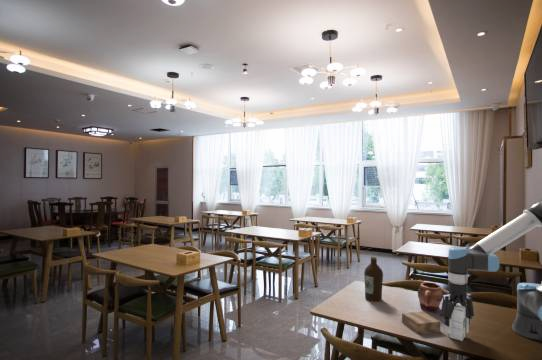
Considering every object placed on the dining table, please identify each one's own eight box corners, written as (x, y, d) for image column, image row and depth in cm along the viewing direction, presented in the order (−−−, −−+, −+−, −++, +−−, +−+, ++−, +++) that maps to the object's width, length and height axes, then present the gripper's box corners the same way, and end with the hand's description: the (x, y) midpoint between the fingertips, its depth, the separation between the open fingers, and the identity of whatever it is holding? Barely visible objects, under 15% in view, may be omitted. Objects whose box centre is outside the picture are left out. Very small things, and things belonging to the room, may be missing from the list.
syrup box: (451, 333, 150) (451, 301, 150) (465, 336, 147) (466, 305, 147) (448, 337, 146) (448, 305, 146) (463, 341, 142) (463, 308, 142)
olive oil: (373, 294, 200) (373, 254, 200) (386, 300, 191) (387, 258, 191) (360, 297, 195) (360, 256, 195) (373, 303, 186) (373, 260, 186)
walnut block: (422, 321, 164) (422, 311, 164) (440, 332, 152) (440, 321, 152) (401, 323, 161) (402, 313, 161) (418, 334, 149) (418, 323, 149)
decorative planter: (440, 319, 165) (440, 292, 165) (414, 313, 172) (415, 287, 172) (443, 306, 182) (444, 282, 182) (420, 302, 189) (420, 278, 189)
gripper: (471, 278, 152) (470, 327, 152) (431, 280, 148) (431, 330, 148) (484, 283, 144) (483, 334, 144) (442, 285, 141) (442, 337, 141)
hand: (457, 332), depth 146 cm, fingers closed on syrup box, 8 cm apart
